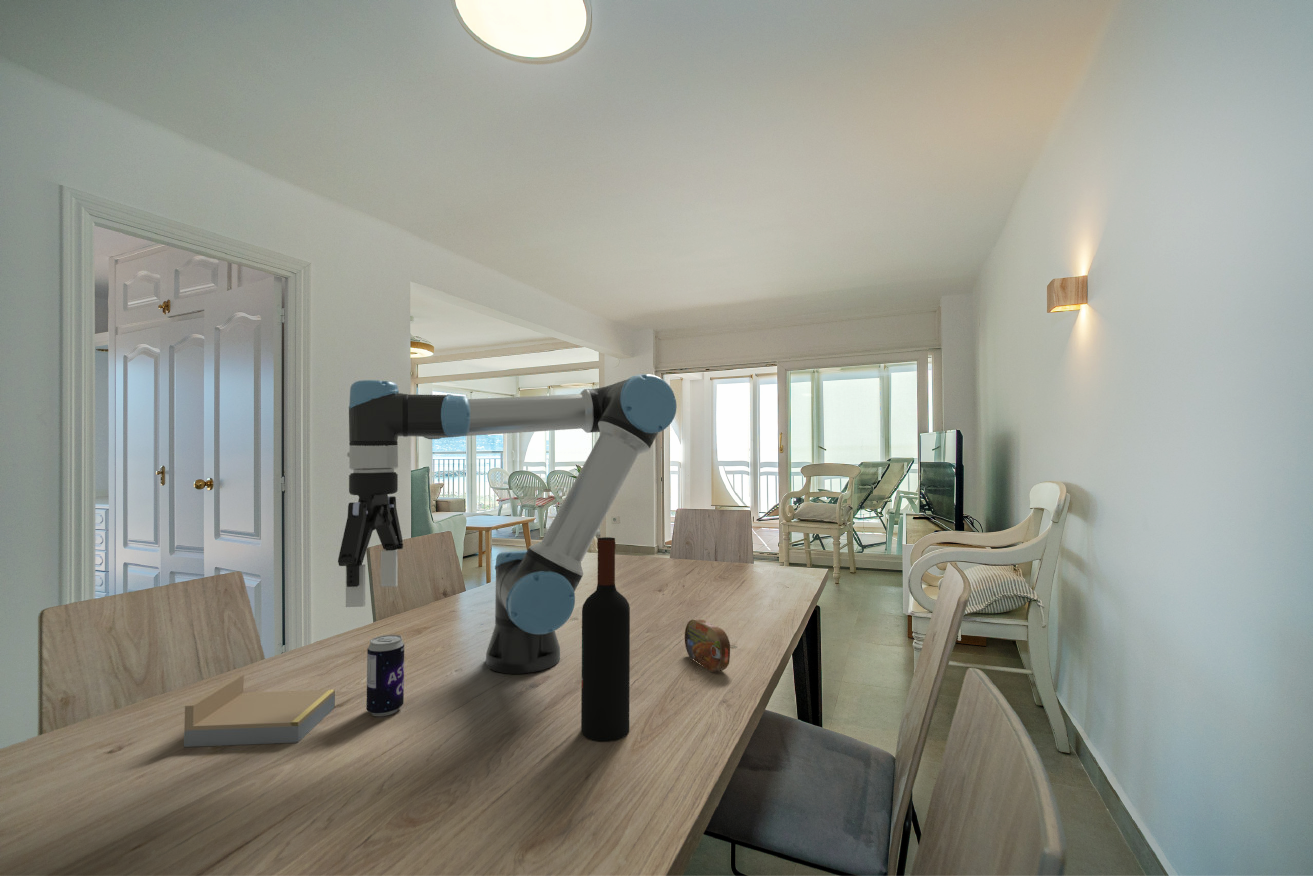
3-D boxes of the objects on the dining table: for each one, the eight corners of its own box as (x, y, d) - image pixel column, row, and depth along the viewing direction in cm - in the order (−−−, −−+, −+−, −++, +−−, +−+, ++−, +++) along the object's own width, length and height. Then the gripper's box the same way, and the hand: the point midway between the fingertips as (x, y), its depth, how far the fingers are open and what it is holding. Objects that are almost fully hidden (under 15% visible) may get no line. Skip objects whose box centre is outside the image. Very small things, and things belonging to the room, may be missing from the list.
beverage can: (389, 720, 95) (390, 645, 95) (358, 716, 96) (359, 643, 96) (410, 705, 100) (411, 635, 100) (381, 702, 101) (382, 633, 102)
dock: (334, 707, 99) (335, 672, 99) (297, 742, 87) (298, 702, 87) (235, 711, 98) (236, 675, 98) (184, 747, 86) (184, 705, 86)
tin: (683, 654, 126) (683, 615, 126) (696, 652, 128) (696, 613, 128) (719, 678, 113) (719, 634, 113) (733, 676, 114) (733, 632, 114)
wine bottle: (591, 746, 86) (592, 543, 87) (574, 725, 93) (575, 537, 94) (637, 735, 90) (638, 540, 91) (617, 715, 96) (618, 534, 97)
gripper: (380, 469, 112) (380, 580, 111) (313, 474, 87) (312, 617, 86) (420, 468, 112) (420, 579, 112) (364, 473, 87) (364, 615, 87)
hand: (373, 595), depth 99 cm, fingers open, 13 cm apart
